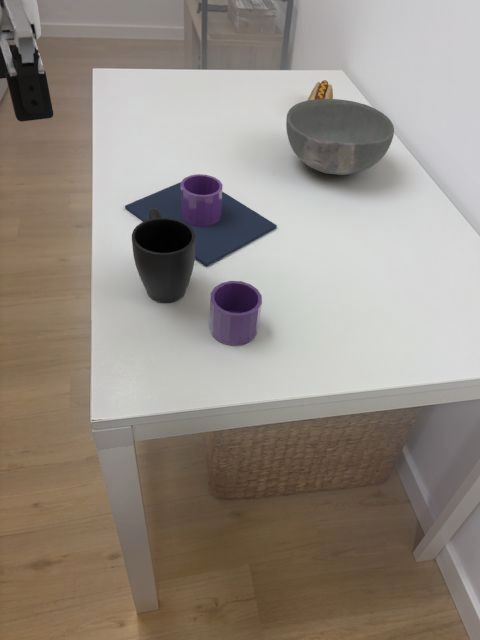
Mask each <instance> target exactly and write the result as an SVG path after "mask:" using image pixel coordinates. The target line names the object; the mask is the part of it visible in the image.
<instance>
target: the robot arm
mask: <svg viewBox="0 0 480 640" xmlns="http://www.w3.org/2000/svg"><path fill="white" fill-rule="evenodd" d="M41 35H42V25H41V18H40V12H39V5H38V0H0V79H1V80H2V79H5V80H6V83H7V88H8V92H9V96H10V100H11V103H12V108H13V112H14V115H15V118H16V120H17V121H19V122H30V121H38V120H48V119H52V118H54V117H53V116H54V109H53V104H52V97H51V93H50V88H49V84H48V78H47V72H46V70H45V67H44V63H43V60H42V57H41V54H40V50H39V47H38V43H37V41H38V40H39V39H40V37H41Z"/></svg>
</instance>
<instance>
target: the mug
mask: <svg viewBox="0 0 480 640" xmlns="http://www.w3.org/2000/svg"><path fill="white" fill-rule="evenodd" d="M149 219H150V220H146V221H144V222H143V221H142V222H140V223H139V224H137V225H136V226H135V228H134V229H132V233H131V246H132V254H133V260H134V265H135V267H136V272H137V273H138V275H139V279H140V281H141V283H142V285H143V287H144V289H145V291H146V293H147V295H148V297H149V298H150V299H152V300H153V301H155V302H158V303H164V304H169V303H175V302H177V301H179V300H181V299H182V298H183V297H184V296H185V295H186V292H187V289H188V286H189V283H190V281H191V278H192V275H193V270H194V267H195V261H196V259H195V233H194V231H193V229H192V228H191V227H190V226H189V225H188V224H186V223H185V222H182V221H180V220H177V219H173V218H161V215H160V211H159V210H158V209H157V208H151V209H149Z"/></svg>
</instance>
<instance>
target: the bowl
mask: <svg viewBox="0 0 480 640" xmlns="http://www.w3.org/2000/svg"><path fill="white" fill-rule="evenodd" d="M285 122H286V123H285V125H286V126H285V127H286V135H287V139H288V143H289V145H290V148H291V149H292V151H293V153H294V154H295V156H296V157H297V158H298V159H299V160H300V162H302V163H304V165H307V166H308V167H309V168H311V169H313V170H315V171H318V172H320V173H323V174H327V175H338V176H343V175H344V176H345V175H346V176H347V175H352V174H358V173H361V172H364V171H366V170H368V169H370V168H372V167H375V165H377V164H378V163H379V162H380V161H381V160H382V159H383V158H384V157H385V155H386V154H387V152H388V150H389V149H390V147H391V144H392V142H393V139H394V134H395V127H394V124H393V122H392V120H391V119H390V118H389V117H388V116H387V115H386V114H384V113H383V112H382V111H380V110H378V109H376V108H375V107H373V106H370V105H367V104H364V103H361V102H357V101H353V100H348V99H340V98H339V99H338V98H333V99H316V100H308V99H307V100H304V101H300V102H298V103H295V104H294V105H293V106H291V108H289V109H288V111H287V114H286V121H285Z"/></svg>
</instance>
